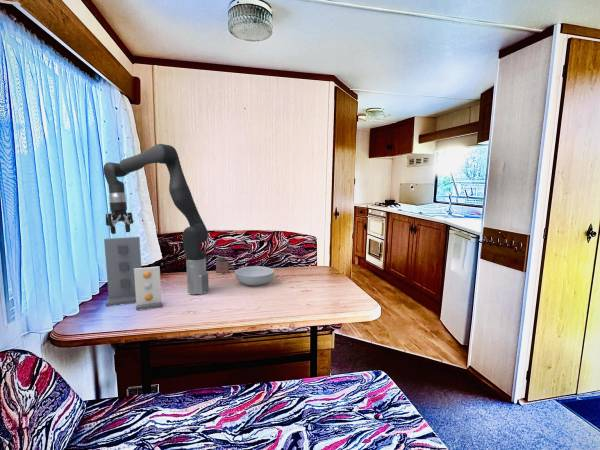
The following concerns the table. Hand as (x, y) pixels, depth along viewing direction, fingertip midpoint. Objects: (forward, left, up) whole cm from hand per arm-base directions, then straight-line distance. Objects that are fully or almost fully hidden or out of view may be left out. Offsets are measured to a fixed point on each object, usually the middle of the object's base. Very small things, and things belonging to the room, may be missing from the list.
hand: (121, 233), depth 169 cm
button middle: (-16, +15, -14) cm, 26 cm away
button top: (-16, +15, -6) cm, 23 cm away
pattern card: (-34, +21, -28) cm, 49 cm away
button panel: (-18, +17, -28) cm, 37 cm away
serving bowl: (-65, -23, -28) cm, 74 cm away
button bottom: (-16, +15, -22) cm, 31 cm away
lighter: (-39, -34, -28) cm, 59 cm away
